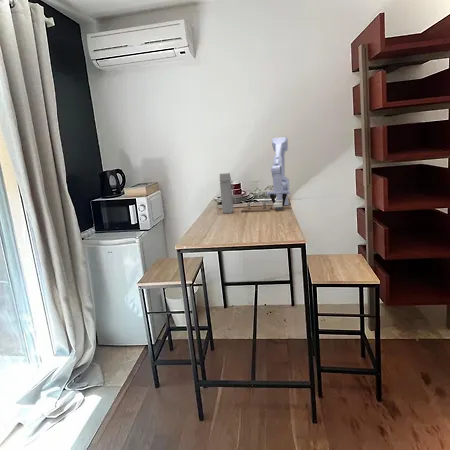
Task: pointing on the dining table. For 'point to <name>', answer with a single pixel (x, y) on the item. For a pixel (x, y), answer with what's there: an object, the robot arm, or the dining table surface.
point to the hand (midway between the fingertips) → (279, 206)
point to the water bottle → (226, 193)
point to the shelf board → (278, 203)
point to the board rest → (279, 208)
